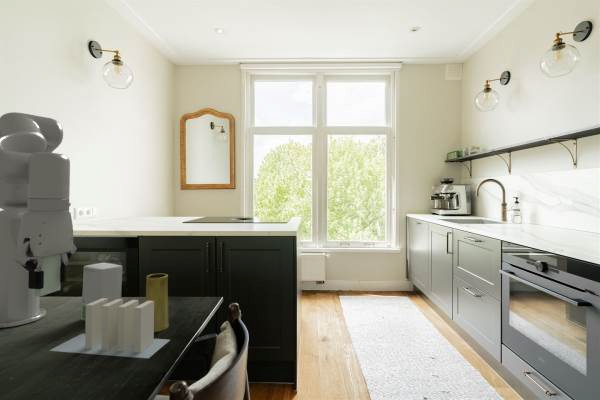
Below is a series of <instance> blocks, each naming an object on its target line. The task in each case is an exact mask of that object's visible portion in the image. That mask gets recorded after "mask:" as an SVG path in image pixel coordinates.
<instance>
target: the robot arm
mask: <svg viewBox="0 0 600 400" xmlns="http://www.w3.org/2000/svg"><path fill="white" fill-rule="evenodd" d="M63 139H64V130H63V127H62V125H61V124H60V123H59V121H57V120H56V119H53V118H51V117H46V116H45V117H44V116H41V115H35V114H30V113H23V112H14V111H13V112H7V113H4V114H2V115H1V116H0V209H1V210H0V329H2V328H12V327H16V326H22V325H26V324H29V323H33V322H35V321H38V320H41V319H43V318H44V317H46V315H47V310H46V309H45V308H40V296H34V289H42V288H43V287H44V271H41V268H42V265H43V261H44V257H48V256H53V255H58V254H60V256H61V266H60V282H61V283H64V282H66V277H67V276H66V271H67V270H66V269H67V266H68V265H69V260H70V259H71V257H72V256H73V254H74V253H75V252H76V251H77V249H78V247H77V246H76V245H75V243H74V226H73V219H72V214H71V212H70V207H71V204H72V203H71V202H70V185H71V184H70V181H71V180H70V179H71V176H70V175H71V160H70V158H69V157H68V156H67V155H65V154H63V153H58V152H57V153H56V152H54V151H55V150H56V149H57V148H58V147H59V146H60V145H61V144H62V142H63ZM35 260H37V261H36V264H35Z"/></svg>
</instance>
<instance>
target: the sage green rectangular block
mask: <svg viewBox="0 0 600 400" xmlns="http://www.w3.org/2000/svg"><path fill="white" fill-rule="evenodd" d="M36 261H37V260H35V264H36ZM60 266H61V256H60V254H58V255H53V256H48V257H44V261H43V265H42V268H41V271H44V287H43V288H42V289H34V296H39V297H43V296H46V295H48V294H49V295H50V294H51V293H55V292H57V291H61V283H62V282H60Z"/></svg>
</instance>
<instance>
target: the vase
mask: <svg viewBox="0 0 600 400" xmlns="http://www.w3.org/2000/svg"><path fill="white" fill-rule="evenodd" d="M168 278H169V275H168V273H167V274H166V273H163V272H162V273H152V274H149V275H146V278H145V279H146V282H145V283H146V285H145V302H146V301H154V333H157V332H161V331H163V330H164V331H165V330H166V329H167V328H169V326H170V324H169V295H168V293H169V291H168V283H169V282H168V281H169V279H168Z"/></svg>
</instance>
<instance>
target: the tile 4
mask: <svg viewBox="0 0 600 400" xmlns="http://www.w3.org/2000/svg"><path fill="white" fill-rule="evenodd" d="M139 301H140V300H139V299H131V300H129V301H128V302H125V303H123V305H121V306H119V307H118V347H117V351H125V350H127V349H128V348H130V347H131V346H132V345H134V308H135V307H137V306H139V305H140V304H139Z"/></svg>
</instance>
